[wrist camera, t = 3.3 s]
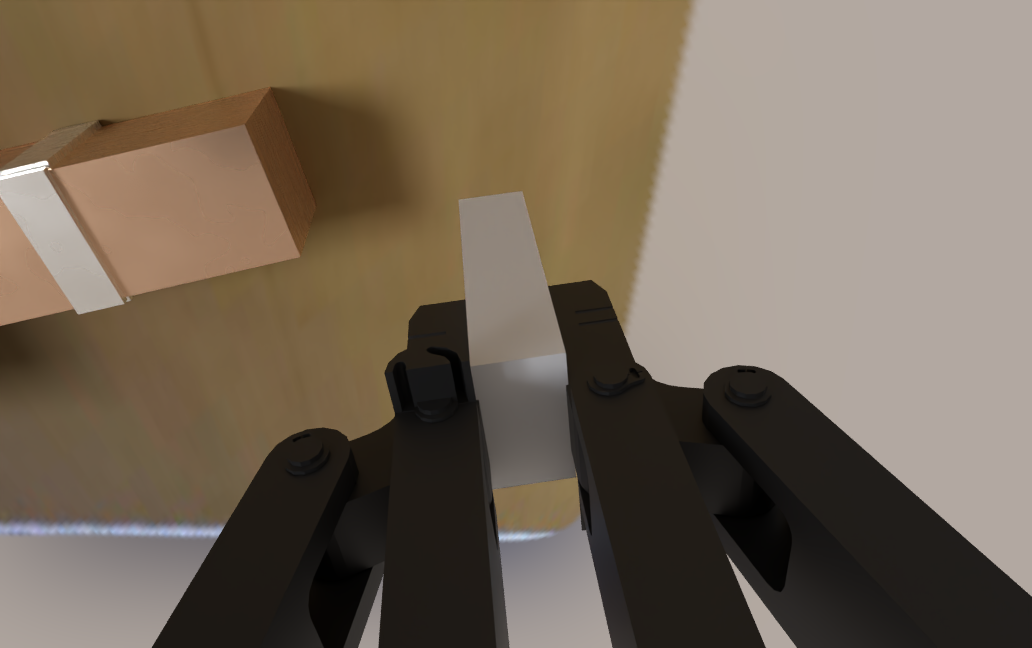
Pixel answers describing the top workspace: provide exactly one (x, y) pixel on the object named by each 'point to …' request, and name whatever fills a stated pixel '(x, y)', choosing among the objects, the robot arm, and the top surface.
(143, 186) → the banded cardboard box
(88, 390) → the top surface
